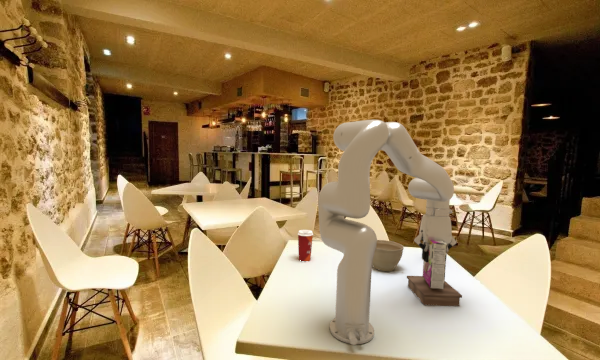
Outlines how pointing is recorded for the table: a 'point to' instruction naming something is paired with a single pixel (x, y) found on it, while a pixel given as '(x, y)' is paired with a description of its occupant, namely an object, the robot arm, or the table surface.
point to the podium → (433, 292)
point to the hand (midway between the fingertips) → (433, 260)
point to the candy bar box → (435, 265)
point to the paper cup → (305, 244)
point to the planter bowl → (387, 255)
